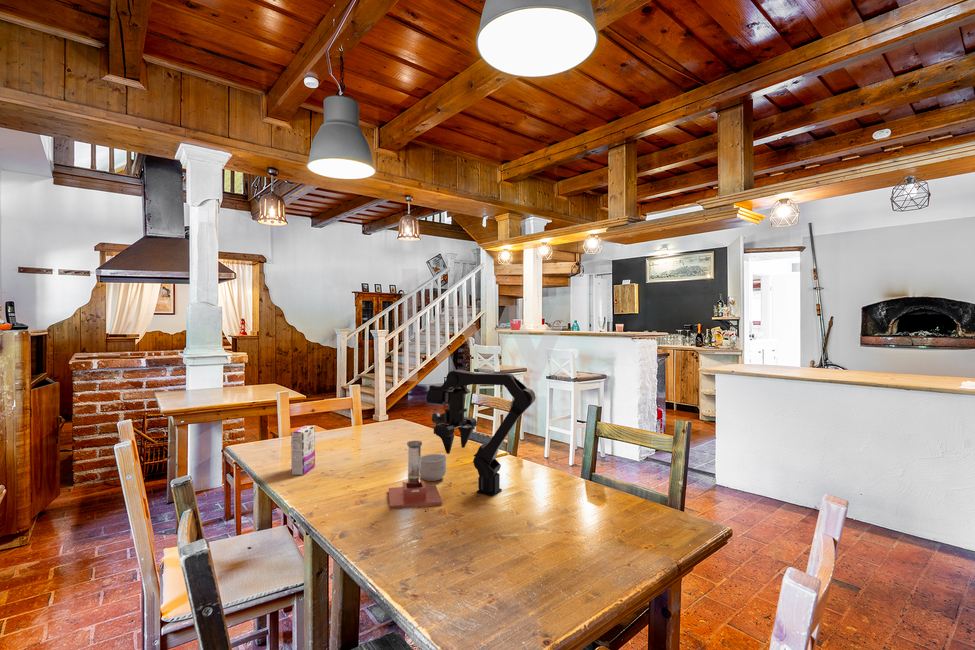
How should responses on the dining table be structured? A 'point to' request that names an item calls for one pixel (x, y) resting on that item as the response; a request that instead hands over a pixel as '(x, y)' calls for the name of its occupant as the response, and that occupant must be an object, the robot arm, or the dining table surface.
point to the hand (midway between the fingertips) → (455, 450)
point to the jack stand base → (414, 496)
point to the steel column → (414, 462)
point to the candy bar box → (303, 450)
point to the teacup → (433, 466)
